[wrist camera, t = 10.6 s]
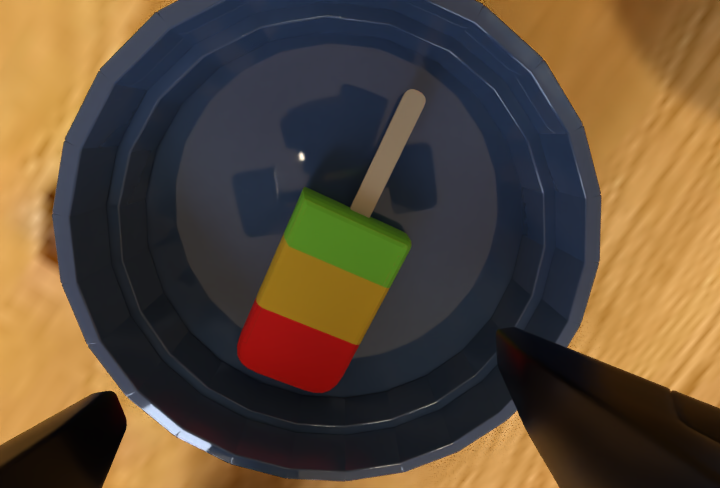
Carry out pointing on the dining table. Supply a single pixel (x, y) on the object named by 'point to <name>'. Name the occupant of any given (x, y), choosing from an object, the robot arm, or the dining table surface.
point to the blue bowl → (341, 183)
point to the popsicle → (329, 276)
